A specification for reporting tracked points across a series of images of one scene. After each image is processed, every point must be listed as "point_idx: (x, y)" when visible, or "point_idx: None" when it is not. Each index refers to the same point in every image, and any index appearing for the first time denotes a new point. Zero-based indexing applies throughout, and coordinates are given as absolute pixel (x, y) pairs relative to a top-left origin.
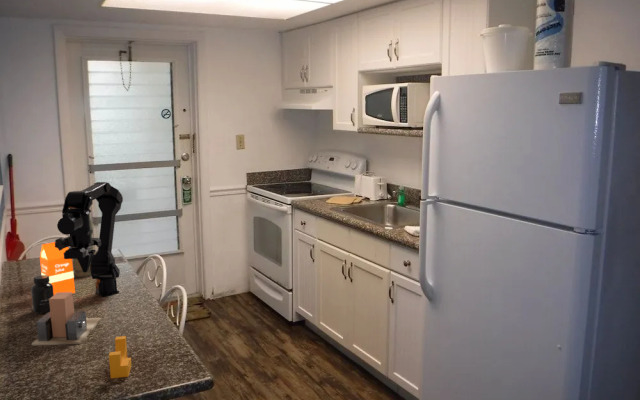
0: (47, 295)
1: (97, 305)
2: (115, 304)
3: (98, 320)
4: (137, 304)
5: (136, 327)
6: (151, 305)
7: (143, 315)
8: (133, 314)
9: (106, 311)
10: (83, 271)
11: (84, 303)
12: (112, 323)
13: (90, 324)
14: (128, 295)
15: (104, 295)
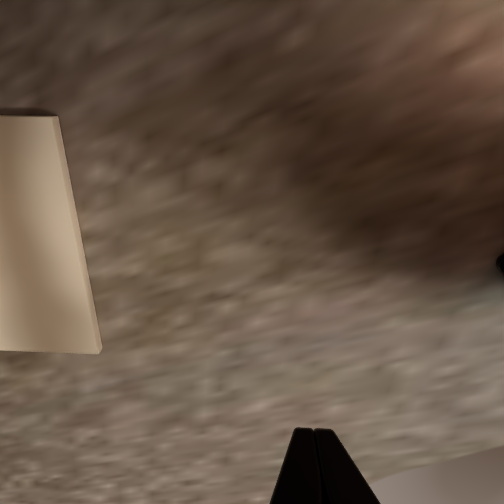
0: None
1: (330, 267)
2: (328, 355)
3: (62, 348)
4: None
5: (32, 478)
6: None
7: (160, 481)
8: (172, 449)
9: (219, 339)
10: (290, 443)
11: (393, 170)
12: (61, 398)
13: (4, 328)
14: (473, 384)
15: (501, 270)
